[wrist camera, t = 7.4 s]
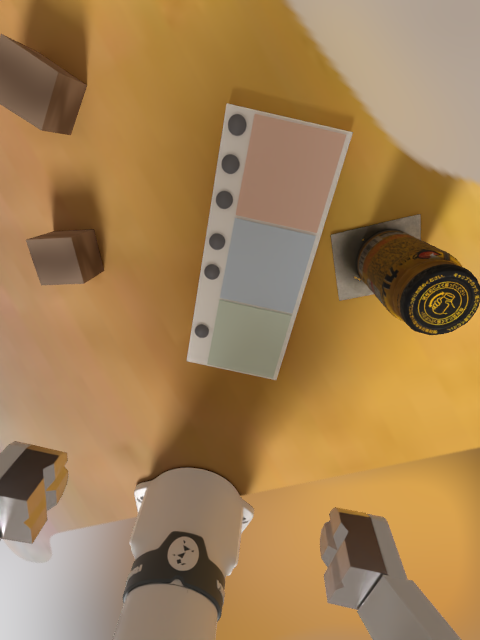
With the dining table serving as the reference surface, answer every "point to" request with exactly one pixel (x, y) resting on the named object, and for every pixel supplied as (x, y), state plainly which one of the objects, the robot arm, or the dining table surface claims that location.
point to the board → (262, 237)
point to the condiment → (405, 275)
